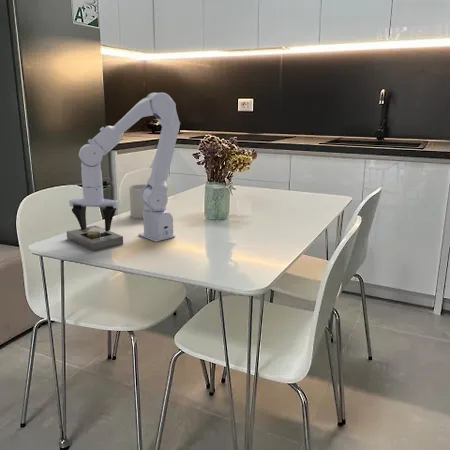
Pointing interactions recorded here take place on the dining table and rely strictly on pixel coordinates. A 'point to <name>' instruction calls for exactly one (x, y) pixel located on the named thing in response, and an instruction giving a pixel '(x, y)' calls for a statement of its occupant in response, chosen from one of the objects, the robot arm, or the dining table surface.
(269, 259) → the dining table surface
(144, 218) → the robot arm
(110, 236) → the grey recessed tray
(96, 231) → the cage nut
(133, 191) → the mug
